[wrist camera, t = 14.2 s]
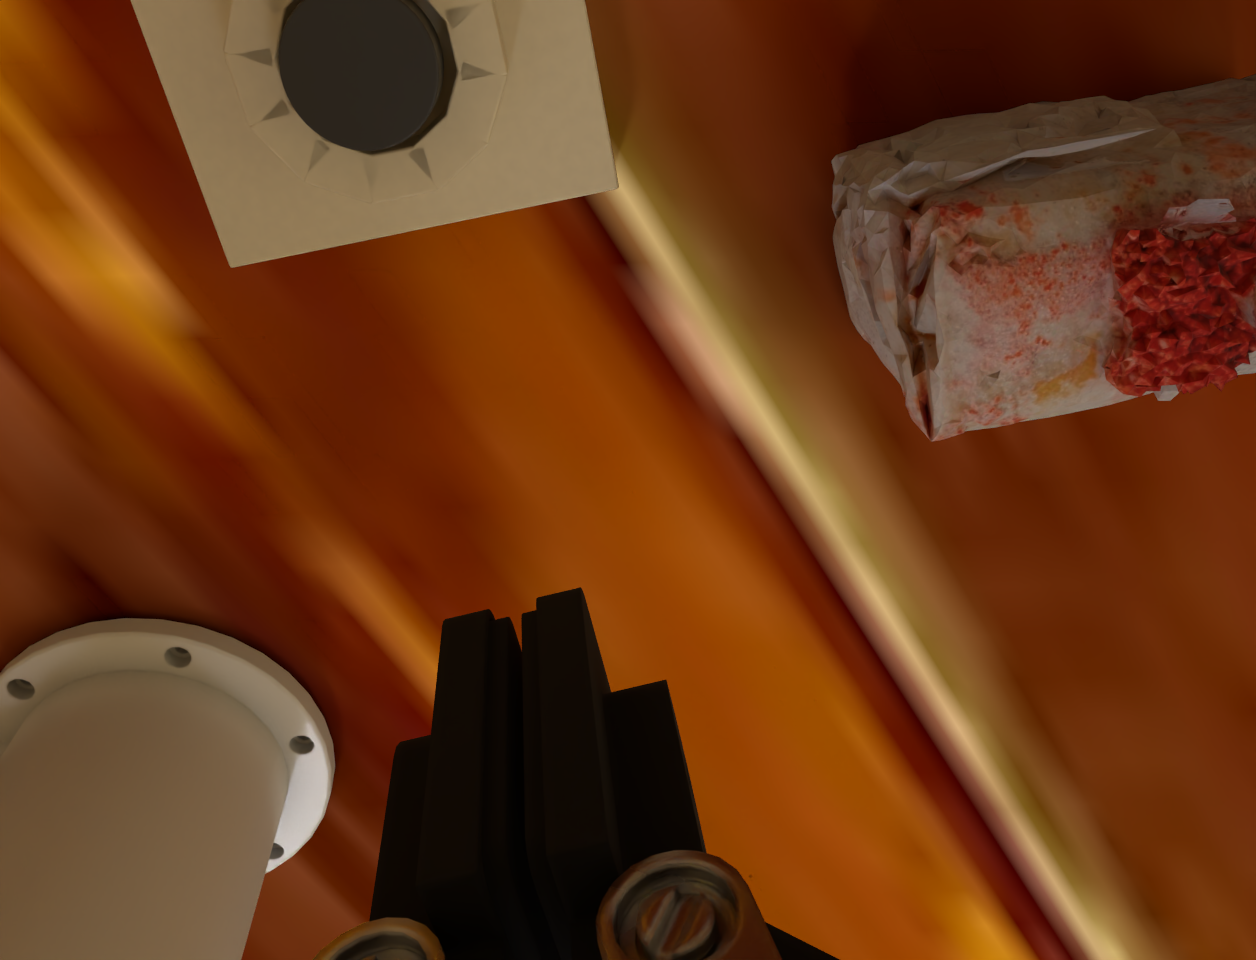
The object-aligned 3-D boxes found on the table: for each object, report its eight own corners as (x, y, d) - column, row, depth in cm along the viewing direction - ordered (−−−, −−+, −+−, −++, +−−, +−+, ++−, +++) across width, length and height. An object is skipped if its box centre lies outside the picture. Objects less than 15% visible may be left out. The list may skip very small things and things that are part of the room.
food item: (829, 373, 34) (935, 521, 25) (797, 127, 30) (909, 201, 21) (1236, 279, 34) (1485, 395, 25) (1255, 19, 30) (1555, 49, 21)
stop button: (320, 152, 26) (308, 165, 24) (271, -3, 24) (254, 0, 23) (460, 123, 26) (456, 134, 24) (421, -34, 24) (414, -33, 23)
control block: (248, 248, 30) (212, 288, 27) (124, -96, 26) (62, -102, 23) (613, 173, 30) (625, 203, 27) (548, -183, 26) (552, -203, 23)
